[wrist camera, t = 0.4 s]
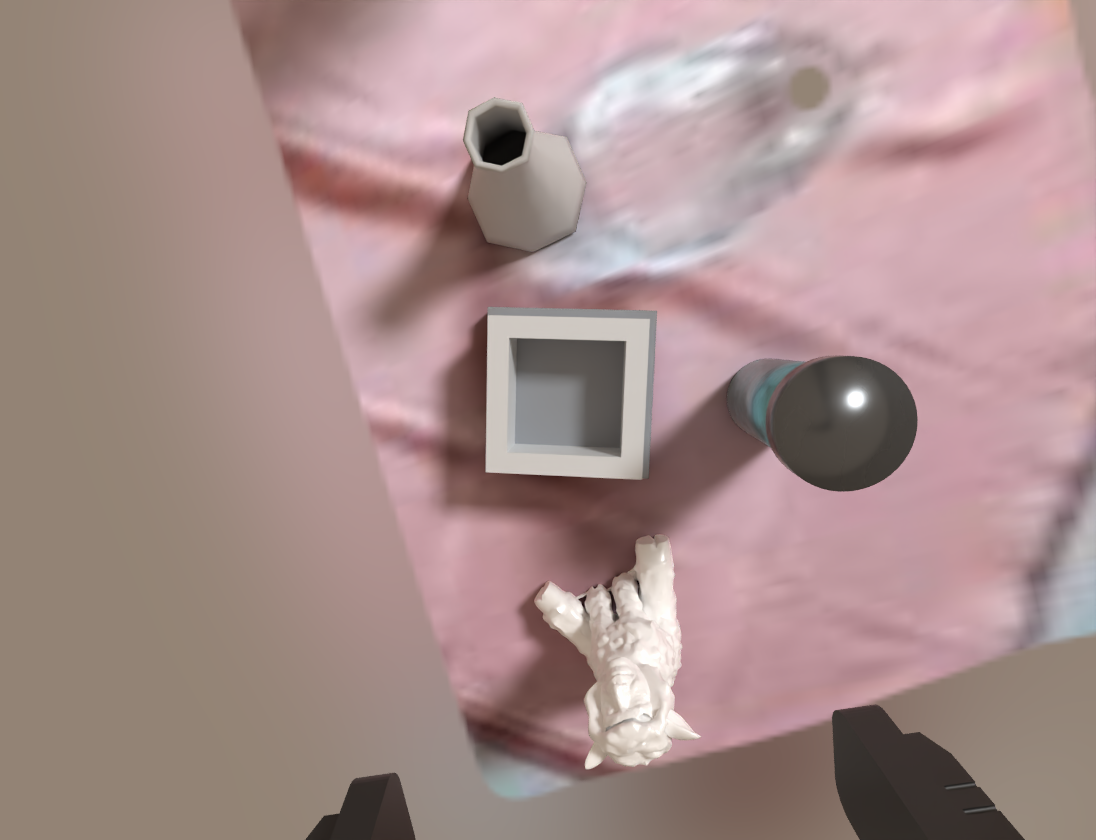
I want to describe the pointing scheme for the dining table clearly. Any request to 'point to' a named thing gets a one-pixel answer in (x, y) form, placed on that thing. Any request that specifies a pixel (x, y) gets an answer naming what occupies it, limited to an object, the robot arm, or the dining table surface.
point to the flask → (521, 178)
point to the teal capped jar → (827, 417)
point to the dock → (570, 392)
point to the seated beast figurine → (627, 656)
